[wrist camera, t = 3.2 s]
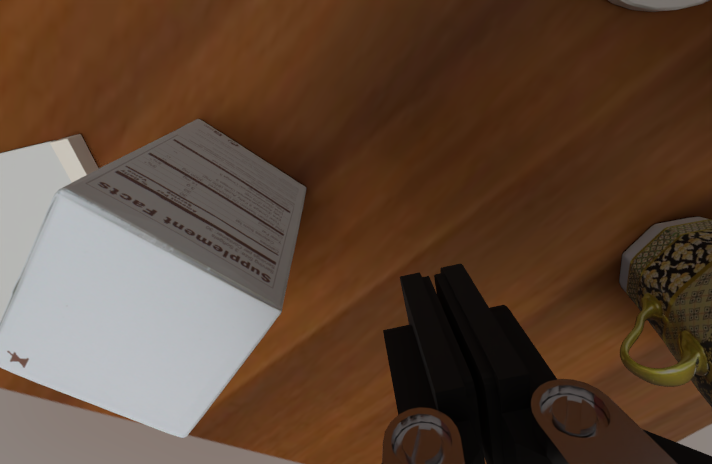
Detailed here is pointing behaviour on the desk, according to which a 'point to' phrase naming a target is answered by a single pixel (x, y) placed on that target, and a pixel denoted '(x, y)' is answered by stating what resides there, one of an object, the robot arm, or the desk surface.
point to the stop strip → (74, 156)
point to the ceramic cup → (673, 300)
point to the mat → (24, 206)
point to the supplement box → (155, 278)
